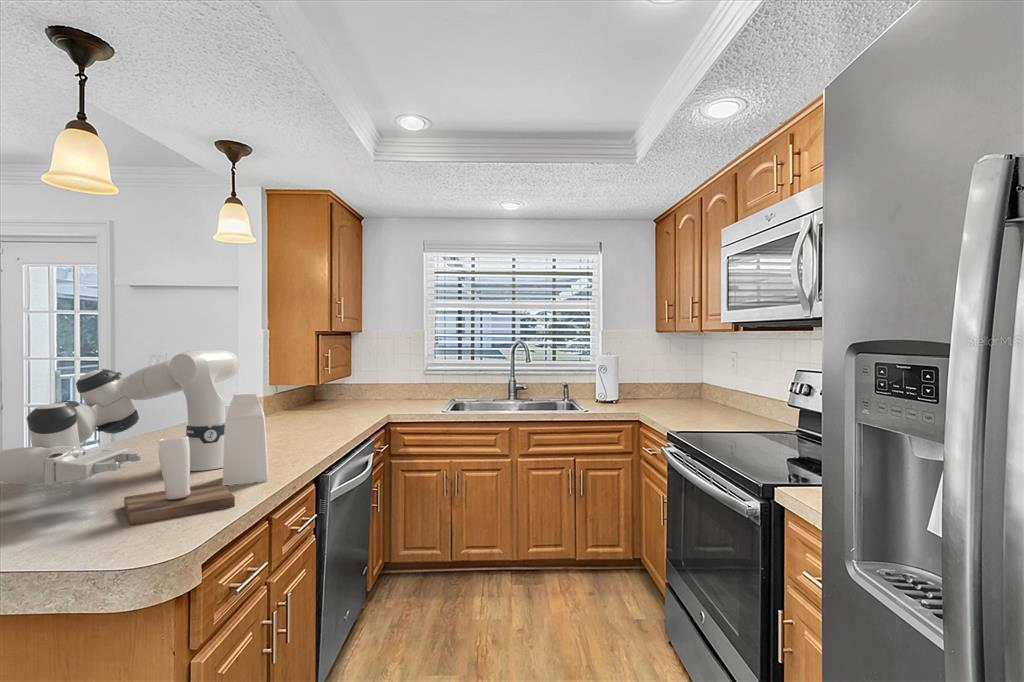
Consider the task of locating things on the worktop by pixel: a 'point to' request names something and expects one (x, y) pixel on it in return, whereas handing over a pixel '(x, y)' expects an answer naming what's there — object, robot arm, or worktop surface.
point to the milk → (245, 441)
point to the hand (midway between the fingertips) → (129, 461)
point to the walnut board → (177, 503)
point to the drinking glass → (175, 466)
